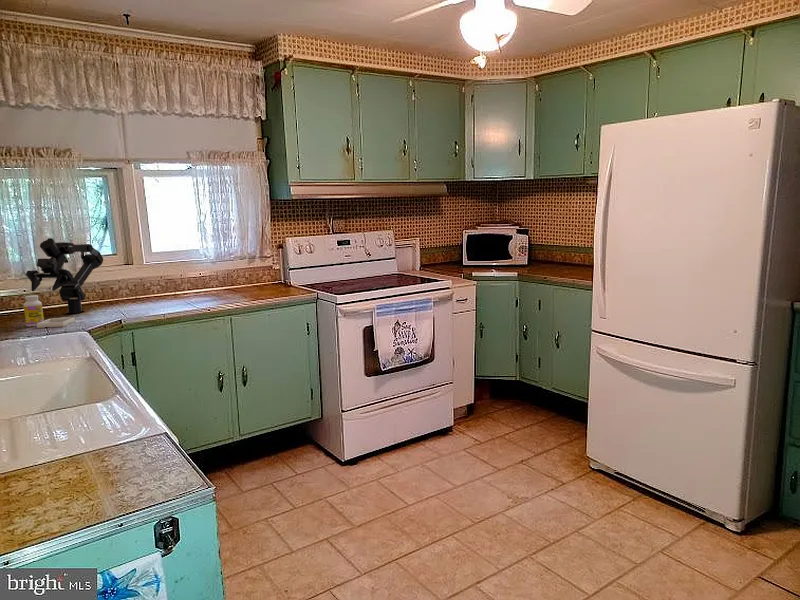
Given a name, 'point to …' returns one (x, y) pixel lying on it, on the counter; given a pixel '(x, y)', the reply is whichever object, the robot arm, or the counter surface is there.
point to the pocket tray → (55, 322)
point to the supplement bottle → (33, 310)
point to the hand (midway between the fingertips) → (42, 290)
